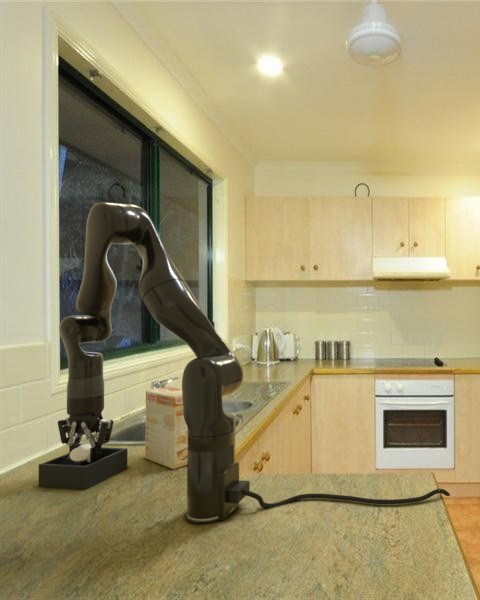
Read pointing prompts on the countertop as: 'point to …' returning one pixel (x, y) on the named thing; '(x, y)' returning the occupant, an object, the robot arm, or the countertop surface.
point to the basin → (82, 470)
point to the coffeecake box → (166, 427)
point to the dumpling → (81, 453)
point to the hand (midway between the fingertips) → (85, 460)
